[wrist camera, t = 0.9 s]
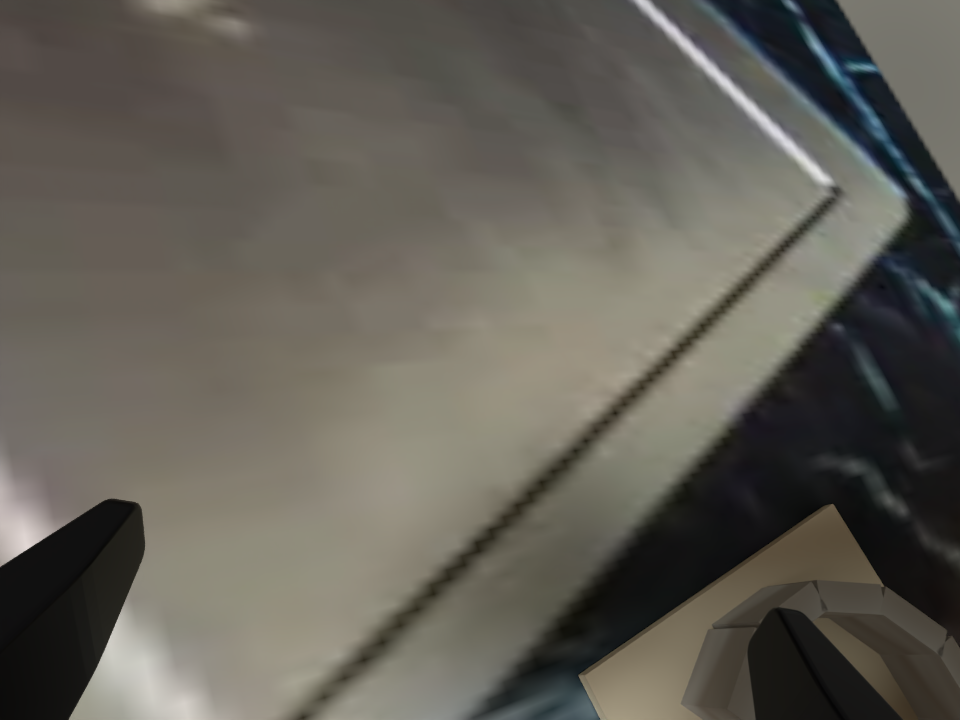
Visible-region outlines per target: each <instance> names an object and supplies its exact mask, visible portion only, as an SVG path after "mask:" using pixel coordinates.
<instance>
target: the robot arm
mask: <svg viewBox="0 0 960 720" xmlns="http://www.w3.org/2000/svg"><path fill="white" fill-rule="evenodd" d="M144 550H145V537H144V526H143V516H142V509H141V507H140V505H139V504H138V503H136V502H131V501H125V500H119V499H107V500H105V501H103V502H101V503H99V504H98V505H96V506H95V507H93V508H92V509H90V510H88V511H87V512H85V513H84V514H82V515H81V516H79V517H77V518H76V519H74V520H73V521H71V522H70V523H68V524H67V525H65V526H63V527H62V528H60V529H59V530H57V531H56V532H54V533H52V534H51V535H49V536H48V537H46V538H45V539H43V540H42V541H40V542H38V543H37V544H35V545H34V546H32V547H31V548H29V549H27V550H26V551H24V552H23V553H21V554H20V555H18V556H17V557H15V558H13V559H12V560H10V561H9V562H7V563H6V564H4V565H2V566H1V567H0V720H69V718H70V716H71V714H72V712H73V711H74V709H75V707H76V705H77V703H78V701H79V700H80V698H81V696H82V694H83V692H84V691H85V689H86V687H87V685H88V683H89V681H90V679H91V677H92V676H93V674H94V672H95V670H96V668H97V666H98V664H99V661H100V659H101V657H102V654H103V652H104V650H105V648H106V645H107V643H108V640H109V638H110V636H111V633H112V631H113V628H114V626H115V624H116V621H117V619H118V617H119V614H120V612H121V609H122V607H123V605H124V602H125V600H126V597H127V595H128V593H129V590H130V588H131V585H132V583H133V581H134V578H135V576H136V573H137V571H138V569H139V566H140V564H141V561H142V558H143V555H144ZM747 657H748V666H749V673H750V681H751V688H752V696H753V704H754V711H755V719H756V720H903V719H902V717H901V716H900V715H899V714H898V713H897V712H896V711H895V710H894V709H893V708H892V707H891V706H890V705H889V704H888V702H887V701H886V700H885V699H884V698H883V697H882V696H881V695H880V694H879V693H878V692H877V691H876V690H875V689H874V687H873V686H872V685H871V684H870V683H869V682H868V681H867V680H866V679H865V678H864V677H863V676H862V675H861V674H860V672H859V671H858V670H857V669H856V668H855V667H854V666H853V665H852V664H851V663H850V662H849V661H848V660H847V659H846V657H845V656H844V655H843V654H842V653H841V652H840V651H839V650H838V649H837V648H836V647H835V646H834V645H833V644H832V642H831V641H830V640H829V639H828V638H827V637H826V636H825V635H824V634H823V633H822V632H821V631H820V630H819V629H818V627H817V626H816V625H815V624H814V623H813V622H812V621H811V620H810V619H809V618H808V617H807V616H806V615H805V614H804V613H802V612H800V611H798V610H793V609H787V608H781V607H774V608H772V609H770V610H769V611H768V612H767V614H766V615H765V617H764V618H763V620H762V622H761V623H760V625H759V626H758V628H757V629H756V631H755V632H754V634H753V635H752V637H751V639H750V641H749V644H748V649H747Z"/></svg>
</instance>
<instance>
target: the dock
mask: <svg viewBox="0 0 960 720" xmlns="http://www.w3.org/2000/svg"><path fill="white" fill-rule="evenodd" d="M774 607H781V608H787V609H793V610H798V611H800V612H802V613H804V614H805V615H806V616H807V617H808V618H809V619H810V620H811V621H812V622H813V623H814V624H815V625H816V626H817V627H818V629H819V630H820V631H821V632H822V633H823V634H824V635H825V636H826V637H827V638H828V639H829V640H830V641H831V642H832V644H833V645H834V646H835V647H836V648H837V649H838V650H839V651H840V652H841V653H842V654H843V655H844V656H845V657H846V659H847V660H848V661H849V662H850V663H851V664H852V665H853V666H854V667H855V668H856V669H857V670H858V671H859V672H860V674H861V675H862V676H863V677H864V678H865V679H866V680H867V681H868V682H869V683H870V684H871V685H872V686H873V687H874V689H875V690H876V691H877V692H878V693H879V694H880V695H881V696H882V697H883V698H884V699H885V700H886V701H887V702H888V704H889V705H890V706H891V707H892V708H893V709H894V710H895V711H896V712H897V713H898V714H899V715H900V716H901V717H902V719H903V720H960V648H959V646H958V644H957V643H956V641H955V640H954V638H953V636H946V634H947V630H946V629H944V628H943V627H942V626H940V625H939V624H938V623H936V622H935V621H933V620H932V619H931V618H929V617H928V616H926V615H925V614H924V613H922V612H921V611H919V610H918V609H917V608H915V607H914V606H912V605H911V604H910V603H908V602H907V601H906V600H904V599H903V598H901V597H900V596H899V595H897V594H896V593H894V592H893V591H892V590H890V589H889V588H887V587H884V585H883V584H882V582H881V580H880V579H879V577H878V576H877V574H876V572H875V571H874V569H873V567H872V566H871V564H870V563H869V561H868V559H867V558H866V556H865V555H864V553H863V551H862V550H861V548H860V546H859V545H858V543H857V542H856V540H855V538H854V537H853V535H852V534H851V532H850V530H849V529H848V527H847V526H846V524H845V522H844V521H843V519H842V517H841V516H840V514H839V513H838V511H837V509H836V508H835V506H834V505H833V504H829V505H825V506H823V507H821V508H820V509H819V510H817V511H816V512H814V513H813V514H811V515H810V516H808V517H807V518H805V519H804V520H803V521H801V522H800V523H798V524H797V525H795V526H794V527H792V528H791V529H789V530H788V531H787V532H785V533H784V534H782V535H781V536H779V537H778V538H776V539H775V540H774V541H772V542H771V543H769V544H768V545H766V546H765V547H763V548H762V549H760V550H759V551H758V552H756V553H755V554H753V555H752V556H750V557H749V558H747V559H746V560H744V561H743V562H742V563H740V564H739V565H737V566H736V567H734V568H733V569H731V570H730V571H728V572H727V573H726V574H724V575H723V576H721V577H720V578H718V579H717V580H715V581H714V582H712V583H711V584H710V585H708V586H707V587H705V588H704V589H702V590H701V591H699V592H698V593H697V594H695V595H694V596H692V597H691V598H689V599H688V600H686V601H685V602H683V603H682V604H681V605H679V606H678V607H676V608H675V609H673V610H672V611H670V612H669V613H667V614H666V615H665V616H663V617H662V618H660V619H659V620H657V621H656V622H654V623H653V624H651V625H650V626H649V627H647V628H646V629H644V630H643V631H641V632H640V633H638V634H637V635H635V636H634V637H633V638H631V639H630V640H628V641H627V642H625V643H624V644H622V645H621V646H620V647H618V648H617V649H615V650H614V651H612V652H611V653H609V654H608V655H606V656H605V657H604V658H602V659H601V660H599V661H598V662H596V663H595V664H593V665H592V666H590V667H589V668H588V669H586V670H585V671H583V672H582V673H580V674H579V675H578V676H579V678H580V680H581V682H582V684H583V686H584V688H585V690H586V692H587V694H588V696H589V698H590V700H591V702H592V704H593V706H594V708H595V710H596V712H597V714H598V716H599V718H600V720H756V719H755V711H754V704H753V696H752V688H751V681H750V673H749V666H748V657H747V649H748V644H749V641H750V639H751V637H752V635H753V634H754V632H755V631H756V629H757V628H758V626H759V625H760V623H761V622H762V620H763V618H764V617H765V615H766V614H767V612H768V611H769V610H770V609H772V608H774Z"/></svg>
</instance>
